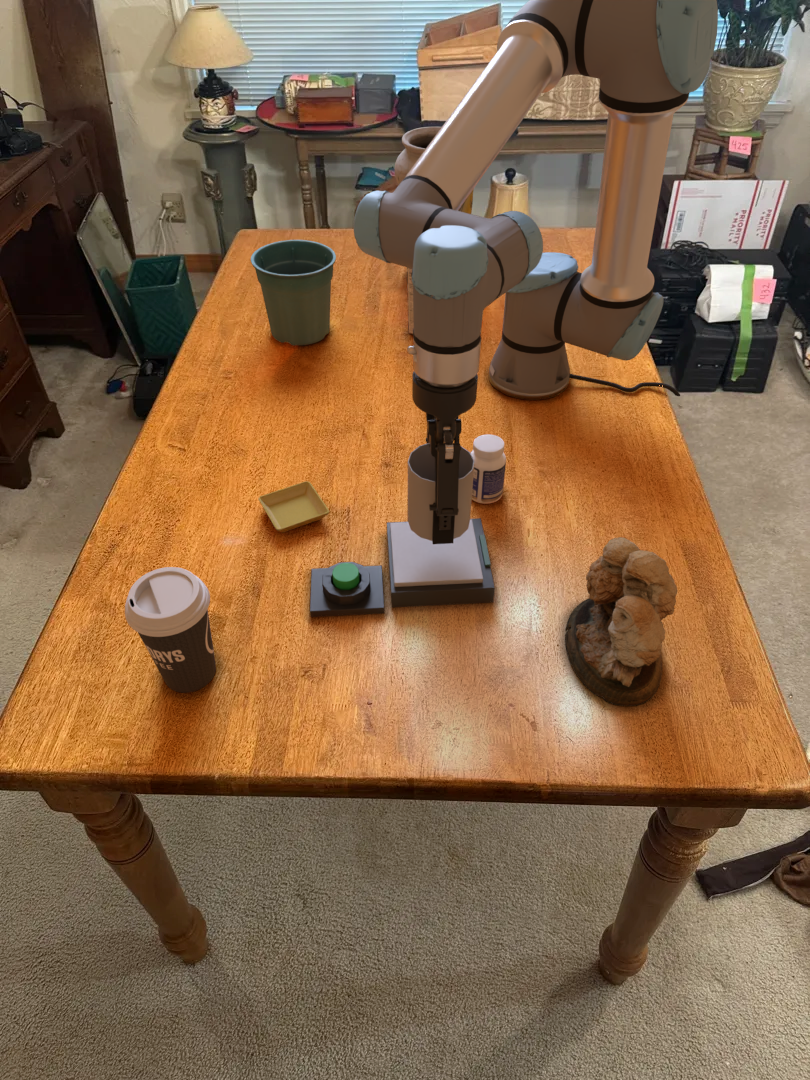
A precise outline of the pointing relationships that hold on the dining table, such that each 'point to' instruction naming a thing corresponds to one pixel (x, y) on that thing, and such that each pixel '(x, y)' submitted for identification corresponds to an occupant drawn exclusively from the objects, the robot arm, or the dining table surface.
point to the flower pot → (296, 289)
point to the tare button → (345, 576)
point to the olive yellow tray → (293, 506)
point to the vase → (413, 150)
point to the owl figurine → (622, 624)
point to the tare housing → (346, 593)
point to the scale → (438, 568)
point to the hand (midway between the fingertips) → (439, 518)
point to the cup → (424, 491)
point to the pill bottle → (488, 468)
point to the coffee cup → (174, 626)
